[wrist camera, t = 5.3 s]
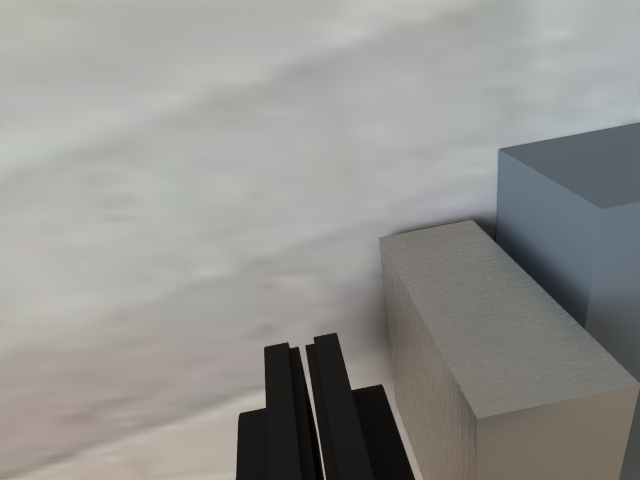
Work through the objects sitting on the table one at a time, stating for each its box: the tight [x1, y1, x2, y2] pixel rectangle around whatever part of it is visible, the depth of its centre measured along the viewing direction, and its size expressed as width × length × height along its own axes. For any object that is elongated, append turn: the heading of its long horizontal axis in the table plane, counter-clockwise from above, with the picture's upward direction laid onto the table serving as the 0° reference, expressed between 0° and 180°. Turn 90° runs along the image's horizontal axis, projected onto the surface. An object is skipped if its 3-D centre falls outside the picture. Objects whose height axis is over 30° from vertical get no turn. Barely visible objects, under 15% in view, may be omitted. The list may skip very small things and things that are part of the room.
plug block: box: [379, 220, 640, 480], centre depth 11 cm, size 9×6×6 cm
